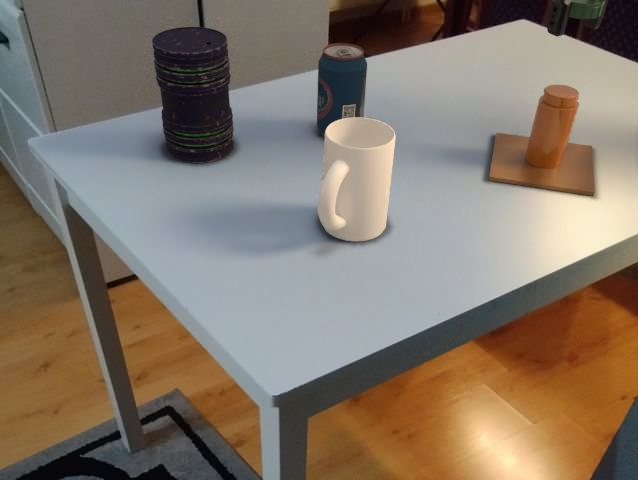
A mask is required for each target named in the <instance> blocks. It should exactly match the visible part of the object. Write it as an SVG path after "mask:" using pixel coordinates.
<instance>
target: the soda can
mask: <svg viewBox="0 0 638 480" xmlns="http://www.w3.org/2000/svg"><path fill="white" fill-rule="evenodd" d="M317 63H318V68H317V97H316V98H317V99H316V127H317V128H318V130H319V131H320V133H321V135H322V136H324V137H325V130H326V129H327V127H328V126H329V125H330V124H331V123H333V122H335V121H337V120H340V119H344V118H353V117H361V118H365V117H364V114H365V102H366V89H367V88H366V87H367V73H368V62H367V59H366V57H365V50H364V49H363V47H361V46H359V45H356V44H353V43H346V42H337V43H331V44H327V45H326V46H324V47H323V49H322V54H321V55H320V57H319V59H318V61H317Z"/></svg>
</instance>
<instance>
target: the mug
mask: <svg viewBox="0 0 638 480" xmlns="http://www.w3.org/2000/svg"><path fill="white" fill-rule="evenodd" d="M395 146H396V133H395V130H394V129H393V127H391V126H390V125H389V124H387V123H385V122H383V121H381V120H378V119H375V118H371V117H363V118H361V117H353V118H344V119H340V120H337V121H335V122H333V123H331V124H330V125H329V126H328V127H327V129H326V130H325V136H324V144H323V158H322V160H321V164H322V165H323V169H322V170H321V175H320V180H322V183H321V185H320V189H319V192H318V197H317V215H318V218H319V221H320V223H321V225H322V227H323V228H324V230H325V232H327V234H329V235H331V236H332V237H334V238H336V239H339V240H343V241H347V242H365V241H370V240H374V239H375V238H377V237H379V236H380V235H382V234H383V232H384V231H385V230H386V227H387V222H388V221H387V220H388V212H389V210H388V209H389V203H390V202H389V201H390V193H391V185H392V184H391V183H392V175H393V166H394V158H395V157H394V156H395Z"/></svg>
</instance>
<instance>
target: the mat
mask: <svg viewBox="0 0 638 480" xmlns="http://www.w3.org/2000/svg"><path fill="white" fill-rule="evenodd" d="M494 137H495V138H494V145H493V150H492V154H491V155H492V156H491V162H490V168H489V174H488V178H487V179H488V181H490V182H491V181H492V182H499V183H505V184H511V185H512V184H513V185H518V186H523V187H531V188H536V189H537V188H538V189H545V190H550V191H557V192H563V193H564V192H565V193H571V194H577V195H583V196H591V197H594V196H595V194H596V188H595V173H594V172H595V171H594V156H593V145H588V144H581V143H573V142H568V144H567V147H566V151H565V154H564V158H563V161H562V164H561V165H560V166H559V167H556V168H540V167H536V166H533V165H531V164H530V163H528V162H527V161H526V160H525V154H526V150H527V146H528V142H529V138H530V136H525V135H524V136H523V135H517V134H509V133H508V134H507V133H502V132H496V133H495V136H494Z"/></svg>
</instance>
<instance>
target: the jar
mask: <svg viewBox="0 0 638 480" xmlns="http://www.w3.org/2000/svg"><path fill="white" fill-rule="evenodd" d="M579 97H580V92H579V90H577V88H574V87H572V86H569V85H566V84H549V85H547V86H546V87H544V89H543V94H542V95H541V96H540V97H539V99H538V103H537V106H536V111H535V114H534V118H533V123H532V126H531V131H530V134H529V137H530V138H529V142H528V146H527V150H526V154H525V160H526V161H527V162H528V163H530V164H531V165H533V166H536V167H540V168H556V167H559V166H560V165H561V164H562V161H563V158H564V154H565V151H566V147H567V144H568V143H569V141H570V138H571V134H572V130H573V127H574V123H575V120H576V116H577V113H578V110H579V106H580V103H579V101H578V100H579Z"/></svg>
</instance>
